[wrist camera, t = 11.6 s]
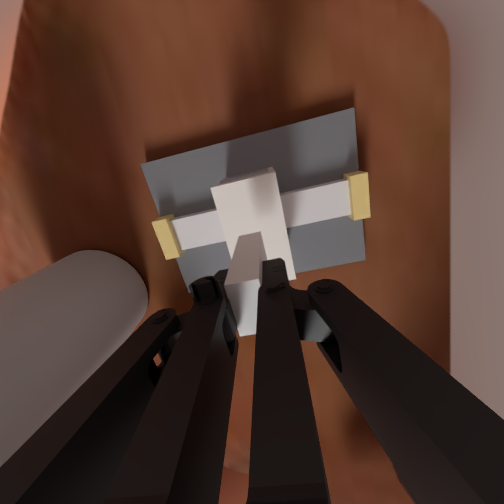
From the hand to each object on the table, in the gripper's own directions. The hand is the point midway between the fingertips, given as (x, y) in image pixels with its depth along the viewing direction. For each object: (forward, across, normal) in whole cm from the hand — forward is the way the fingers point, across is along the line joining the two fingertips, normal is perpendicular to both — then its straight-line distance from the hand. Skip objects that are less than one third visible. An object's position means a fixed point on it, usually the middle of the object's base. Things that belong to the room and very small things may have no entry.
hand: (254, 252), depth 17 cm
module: (+12, 0, 0) cm, 12 cm away
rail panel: (+13, 0, 0) cm, 13 cm away
